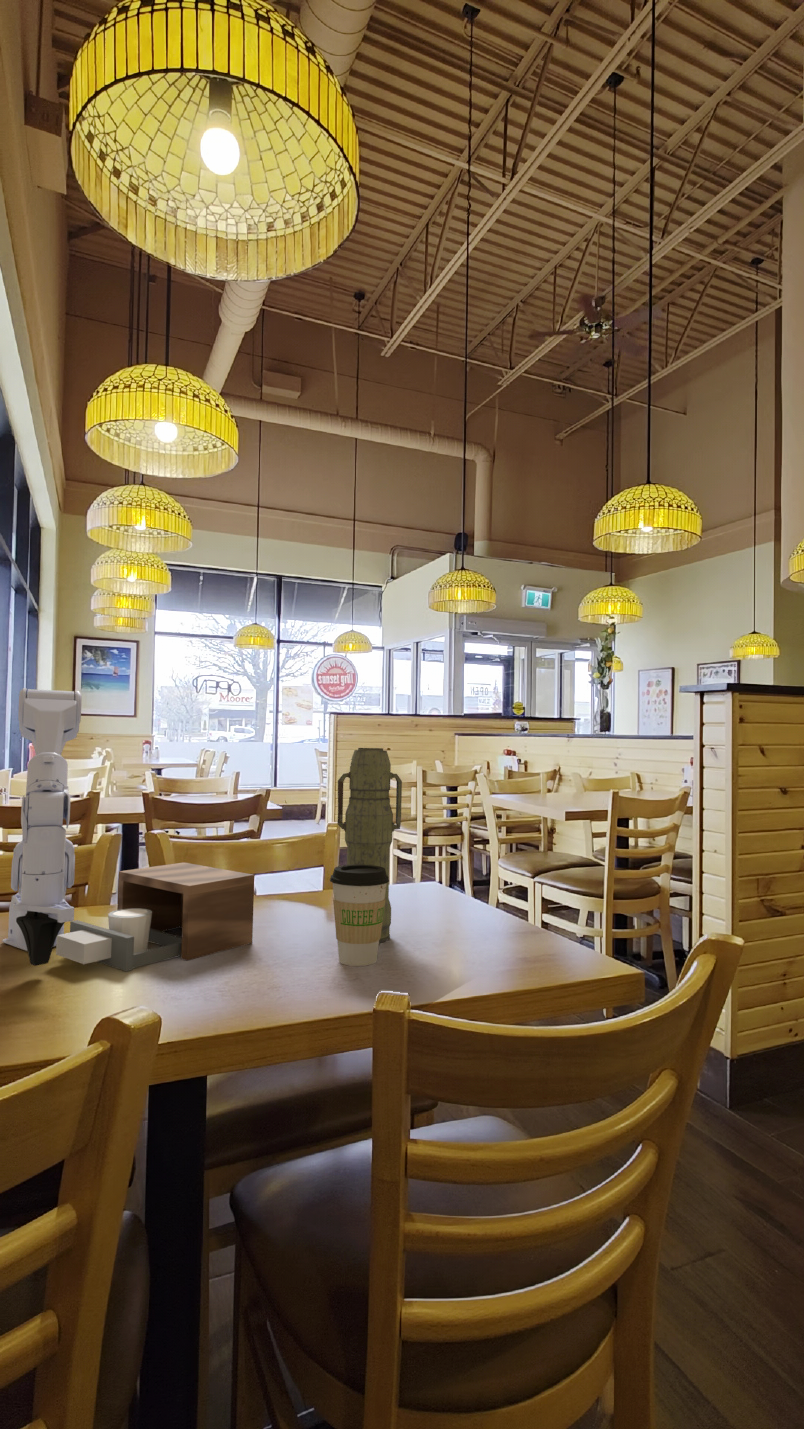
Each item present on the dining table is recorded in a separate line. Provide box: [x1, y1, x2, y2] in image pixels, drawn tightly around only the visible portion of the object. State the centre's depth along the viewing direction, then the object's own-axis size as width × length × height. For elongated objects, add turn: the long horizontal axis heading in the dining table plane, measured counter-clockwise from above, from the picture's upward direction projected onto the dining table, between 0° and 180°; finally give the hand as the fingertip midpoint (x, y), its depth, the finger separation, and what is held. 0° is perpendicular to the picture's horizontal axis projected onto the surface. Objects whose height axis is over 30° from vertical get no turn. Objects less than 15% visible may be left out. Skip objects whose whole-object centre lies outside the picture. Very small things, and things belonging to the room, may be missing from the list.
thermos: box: [336, 747, 403, 944], centre depth 135 cm, size 9×12×35 cm
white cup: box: [107, 908, 152, 953], centre depth 120 cm, size 7×7×7 cm
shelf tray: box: [55, 919, 182, 972], centre depth 119 cm, size 16×18×5 cm
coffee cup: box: [329, 864, 390, 967], centre depth 120 cm, size 10×10×15 cm
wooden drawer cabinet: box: [116, 862, 255, 961], centre depth 129 cm, size 20×14×12 cm
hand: (39, 963), depth 108 cm, fingers closed
